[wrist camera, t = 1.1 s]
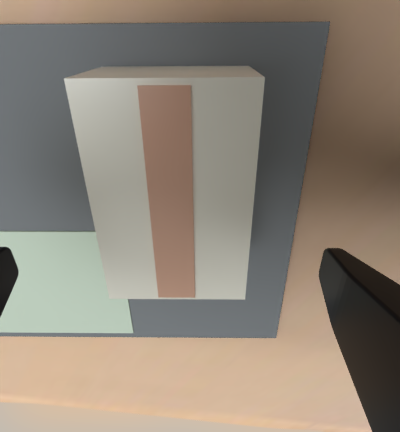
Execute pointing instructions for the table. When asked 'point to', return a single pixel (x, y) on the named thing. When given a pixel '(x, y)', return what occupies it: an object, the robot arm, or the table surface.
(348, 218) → the table surface
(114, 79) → the card deck
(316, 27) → the rubber mat
